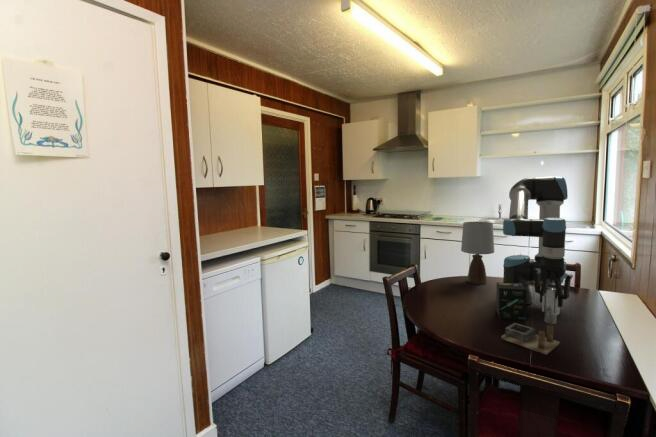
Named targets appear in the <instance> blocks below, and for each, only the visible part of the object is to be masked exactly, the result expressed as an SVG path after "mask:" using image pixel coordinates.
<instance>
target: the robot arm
mask: <svg viewBox="0 0 656 437" xmlns="http://www.w3.org/2000/svg"><path fill="white" fill-rule="evenodd" d="M508 194H509V196H508V197H509V200H510V205H509V215H508V218H506V219H504V220H503V223H502V234H503V235H504V236H509V237H510V236H512V237H528V238H529V237H531V238H538V253H536V254H535V255H534V258H531V257H530V256H529V255H525V254H515V255H513V254H512V255H509V256H508V255H507V256H506V257H504V259H503V278H502V279H503V282H502V283H516V284H523V286H524V287H525V288H526V305H530V304H533V298H534V297H533V294H532V292H531V288H530V283H534V293H536V294H539V303H541V304H542V305H541V312H544V313H545V295H546V288H547V287H548V285H555V288H556V291H557V299H556V300H555V315H557V316H558V315H559V314H560V312H561V311H560V309H561V308H562V307H563V305H564V300H567V299H569V297H570V290H571V282H572V281H571V280H572V279H573V276H574V275H572V274H569V273H567V271H566V270H567V262H566V261H565V258H564V257H565V253H566V252H565V251H566V244H565V243H566V232H567V231H566V230H567V224H566V222H567V221H566V219H564V218H561V217H560V216H561V206H563V205H564V202H565V200H567V199H568V197H569V196H568V185H567V181H566V179H565V177H563V176H554V175H553V176H539V177H538V176H537V177H535V176H534V177H532V176H531V177H526V178H523V179H521V180H519V181H517V182H516V183H514V184H513V185H512V186H511V188H510V190H509V193H508ZM530 200H532V201H534V200H535V201H536V202H535V204H536V205H537V206H539V214H538V215H539V218H538V219H533V218H532V219H529V201H530ZM563 282H564V283H563ZM562 284H564V285H563V287H562Z"/></svg>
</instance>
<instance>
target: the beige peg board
mask: <svg viewBox="0 0 656 437" xmlns="http://www.w3.org/2000/svg"><path fill="white" fill-rule="evenodd" d="M536 332H537V329H536V328H533V327H530V326H527V325H524V324H520V323H518V322H513V323H512V324H509V325H508V326H506V327H505V328H504V334H503V335H501V338H500V339H502V340H504V341H506V342H510V343H512V344H516V345H518V346H521V347H524V348H526V349H530V350H532V351H535V352H538V353H540V354H543V355H548V354H549V353H551V352H552V351H553V350H554V349H555V348H556V347H558V346H559V345H560V341H558V340H555V339H554V326H553V324H547V325H546V332H545V331H543V330H538V333H536Z"/></svg>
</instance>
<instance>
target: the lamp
mask: <svg viewBox="0 0 656 437" xmlns="http://www.w3.org/2000/svg"><path fill="white" fill-rule="evenodd" d="M494 240H495V238H494V223H493V222H489V221H465V222H464V221H463V223H462V235H461V246H460V247H461V248H460V251H461V252H462V253H466V254H469V255H470V254H472V256H471V257H472V259H471V262H470V264H469V267H468V273H467V279H466V280H467V282H468V283H469V284H472V285H485V284H486V285H487V283H488V279H487V271H486V266H485V264H484V261H483V259H482V258H483V257H484V256H483V255H490V254H494V253H495V241H494Z"/></svg>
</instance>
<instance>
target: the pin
mask: <svg viewBox="0 0 656 437" xmlns="http://www.w3.org/2000/svg"><path fill="white" fill-rule="evenodd" d="M545 294H546V295H545V311H544V322H545V323H547V324H549V325H555V324H557V316H558V315H555V300H556V299H557V298H558V297H557V291H556V287H550V286H547V288H546V292H545Z"/></svg>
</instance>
